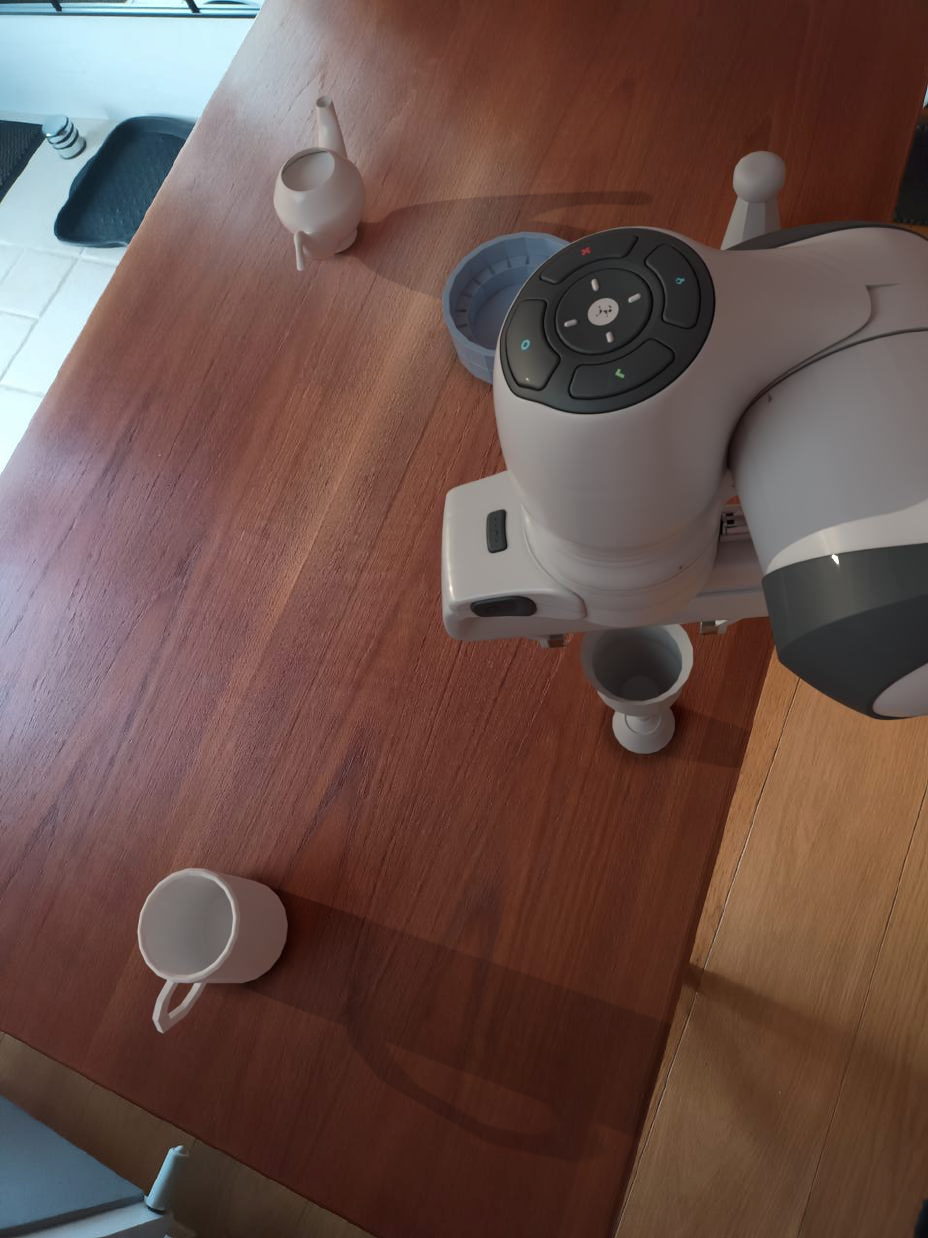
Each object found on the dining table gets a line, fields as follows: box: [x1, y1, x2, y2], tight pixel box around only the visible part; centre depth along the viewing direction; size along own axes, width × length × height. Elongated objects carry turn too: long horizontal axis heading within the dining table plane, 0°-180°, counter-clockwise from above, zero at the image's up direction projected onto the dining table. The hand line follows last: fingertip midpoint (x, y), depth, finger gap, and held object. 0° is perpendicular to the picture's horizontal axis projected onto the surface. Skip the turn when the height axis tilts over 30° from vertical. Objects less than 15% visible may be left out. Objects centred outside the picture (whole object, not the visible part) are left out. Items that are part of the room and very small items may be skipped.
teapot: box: [272, 95, 366, 272], centre depth 100 cm, size 10×20×9 cm, turn 173°
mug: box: [137, 867, 289, 1034], centre depth 74 cm, size 8×12×10 cm, turn 159°
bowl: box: [441, 230, 571, 386], centre depth 92 cm, size 14×14×6 cm
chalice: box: [579, 624, 694, 755], centre depth 70 cm, size 7×7×18 cm
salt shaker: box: [720, 150, 787, 250], centre depth 86 cm, size 6×6×13 cm
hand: (631, 629), depth 58 cm, fingers open, 8 cm apart
